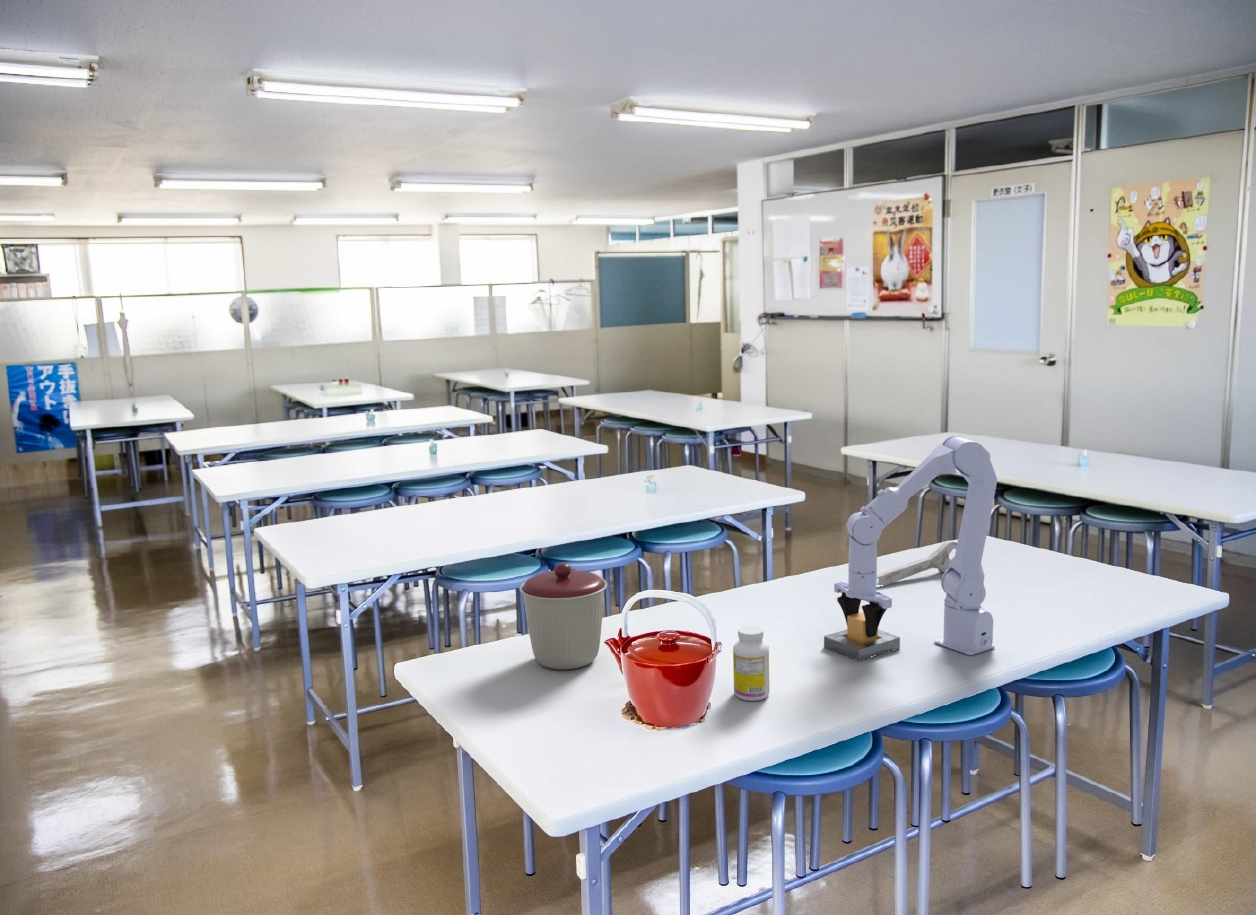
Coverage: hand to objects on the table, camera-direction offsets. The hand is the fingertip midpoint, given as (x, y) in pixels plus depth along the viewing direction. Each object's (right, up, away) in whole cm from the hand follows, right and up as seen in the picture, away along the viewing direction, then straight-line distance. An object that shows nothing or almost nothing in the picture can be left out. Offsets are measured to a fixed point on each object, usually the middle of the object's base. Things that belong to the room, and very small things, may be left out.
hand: (861, 632), depth 201 cm
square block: (0, -3, +1) cm, 4 cm away
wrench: (+26, +5, +48) cm, 55 cm away
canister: (-62, -6, -2) cm, 62 cm away
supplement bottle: (-26, -8, -21) cm, 35 cm away
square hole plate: (0, -3, +1) cm, 3 cm away
